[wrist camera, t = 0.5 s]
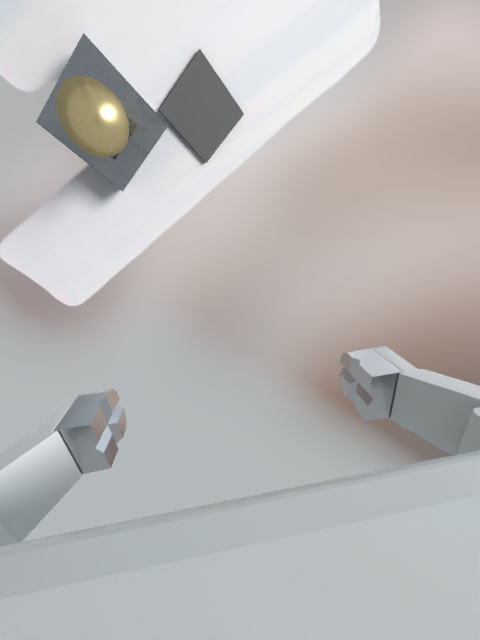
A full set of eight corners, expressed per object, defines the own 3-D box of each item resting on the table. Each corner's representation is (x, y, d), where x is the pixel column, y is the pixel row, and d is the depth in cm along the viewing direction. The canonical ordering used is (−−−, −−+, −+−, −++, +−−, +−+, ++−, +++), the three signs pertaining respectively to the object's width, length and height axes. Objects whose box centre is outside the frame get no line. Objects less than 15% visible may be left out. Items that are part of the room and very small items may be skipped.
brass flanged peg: (72, 123, 35) (43, 118, 25) (97, 80, 33) (77, 55, 23) (117, 162, 39) (108, 171, 29) (142, 126, 37) (140, 121, 27)
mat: (158, 110, 38) (158, 109, 38) (198, 49, 36) (199, 48, 36) (205, 162, 44) (206, 162, 44) (242, 114, 42) (243, 113, 42)
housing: (47, 123, 36) (36, 121, 32) (90, 45, 33) (83, 33, 29) (124, 186, 43) (122, 191, 39) (165, 127, 40) (167, 126, 36)
